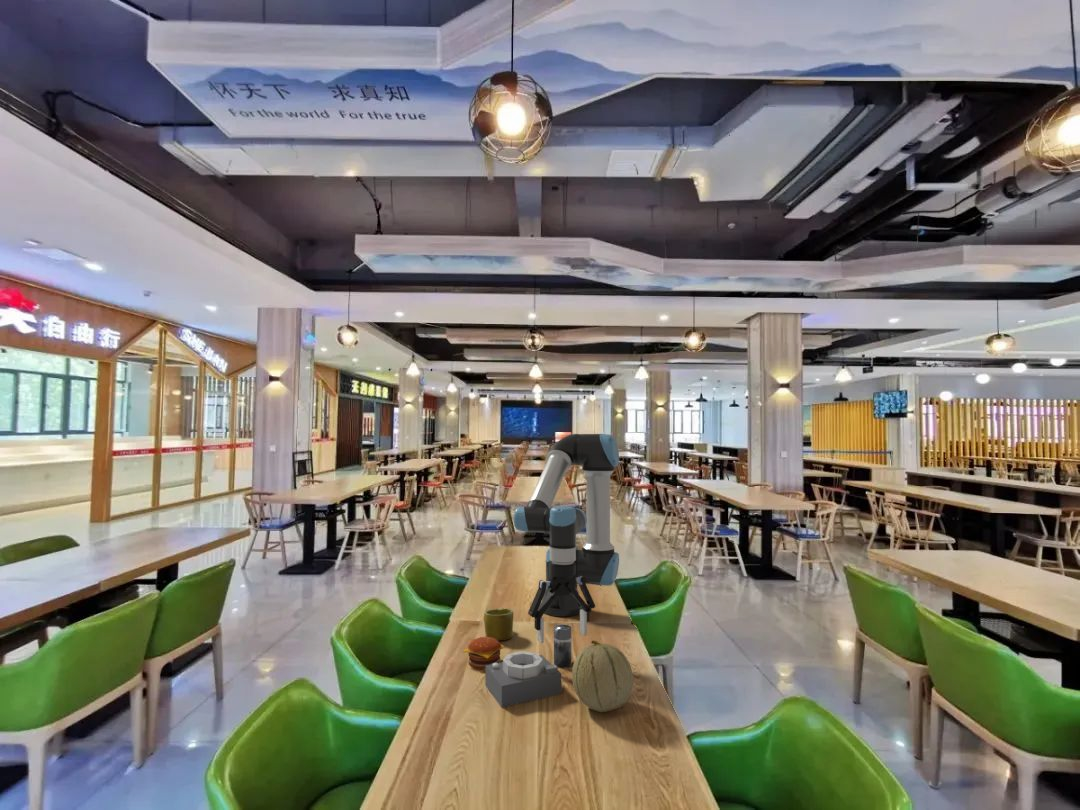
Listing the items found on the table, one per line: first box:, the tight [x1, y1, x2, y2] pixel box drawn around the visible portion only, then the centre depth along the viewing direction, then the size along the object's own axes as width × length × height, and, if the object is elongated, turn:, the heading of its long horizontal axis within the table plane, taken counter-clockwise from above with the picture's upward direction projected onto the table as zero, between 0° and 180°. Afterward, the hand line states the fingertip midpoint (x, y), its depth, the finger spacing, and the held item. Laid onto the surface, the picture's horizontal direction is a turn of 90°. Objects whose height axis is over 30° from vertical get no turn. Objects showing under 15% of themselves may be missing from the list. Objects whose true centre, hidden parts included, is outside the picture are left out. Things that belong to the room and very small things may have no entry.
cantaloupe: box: [571, 639, 634, 713], centre depth 126 cm, size 15×15×15 cm
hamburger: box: [462, 636, 506, 670], centre depth 151 cm, size 9×10×7 cm
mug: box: [483, 607, 514, 642], centre depth 170 cm, size 12×10×10 cm
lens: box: [553, 624, 573, 669], centre depth 150 cm, size 5×5×10 cm
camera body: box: [485, 650, 562, 708], centre depth 135 cm, size 16×12×8 cm
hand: (562, 637), depth 150 cm, fingers open, 13 cm apart
